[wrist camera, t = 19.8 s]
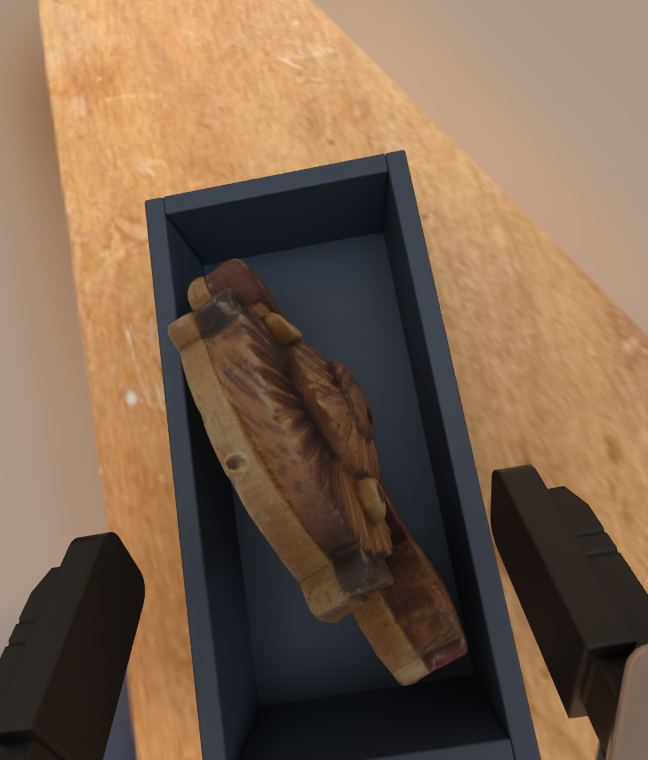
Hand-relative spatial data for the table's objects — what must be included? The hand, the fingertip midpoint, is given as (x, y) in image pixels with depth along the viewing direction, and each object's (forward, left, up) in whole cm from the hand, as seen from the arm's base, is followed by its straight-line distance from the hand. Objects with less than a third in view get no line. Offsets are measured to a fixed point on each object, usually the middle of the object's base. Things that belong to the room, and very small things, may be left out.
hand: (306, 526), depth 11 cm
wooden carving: (0, -2, -12) cm, 12 cm away
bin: (0, -2, -12) cm, 13 cm away
